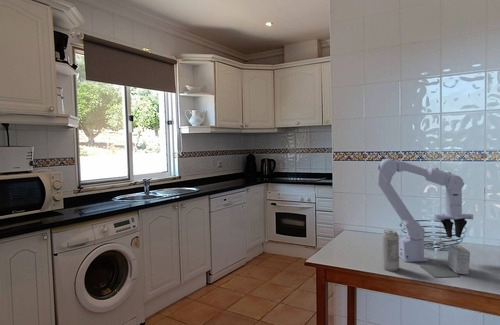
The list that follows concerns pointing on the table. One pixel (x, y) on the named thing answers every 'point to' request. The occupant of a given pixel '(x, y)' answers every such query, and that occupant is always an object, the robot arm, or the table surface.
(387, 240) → the energy drink can
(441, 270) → the mat
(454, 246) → the medicine box
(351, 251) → the table surface
